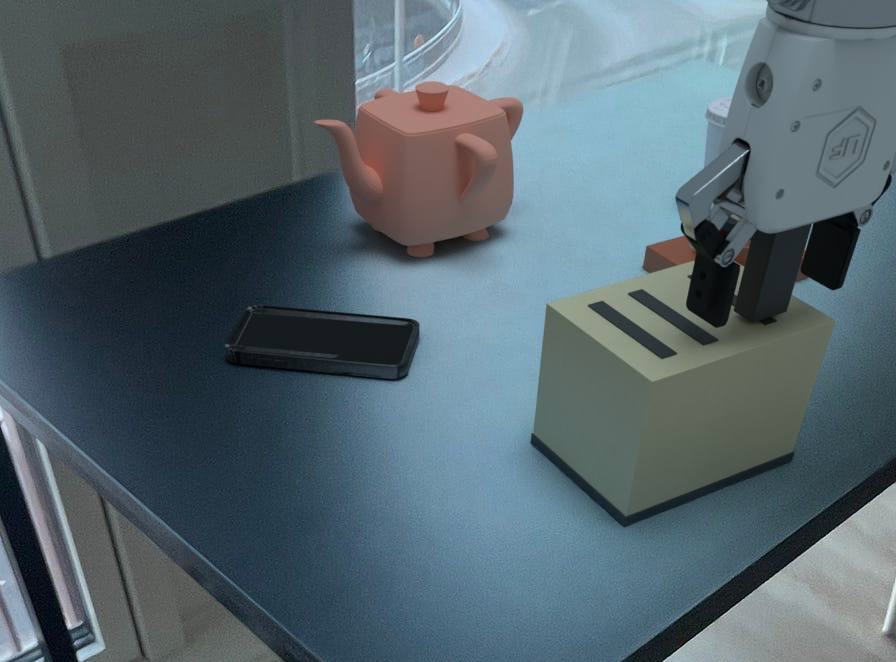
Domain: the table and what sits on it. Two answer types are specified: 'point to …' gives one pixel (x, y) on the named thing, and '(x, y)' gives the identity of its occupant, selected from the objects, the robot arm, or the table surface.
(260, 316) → the phone
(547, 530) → the table surface
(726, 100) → the smoothie
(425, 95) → the teapot
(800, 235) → the toaster slider
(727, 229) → the button
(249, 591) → the table surface
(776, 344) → the toaster
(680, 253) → the control block
